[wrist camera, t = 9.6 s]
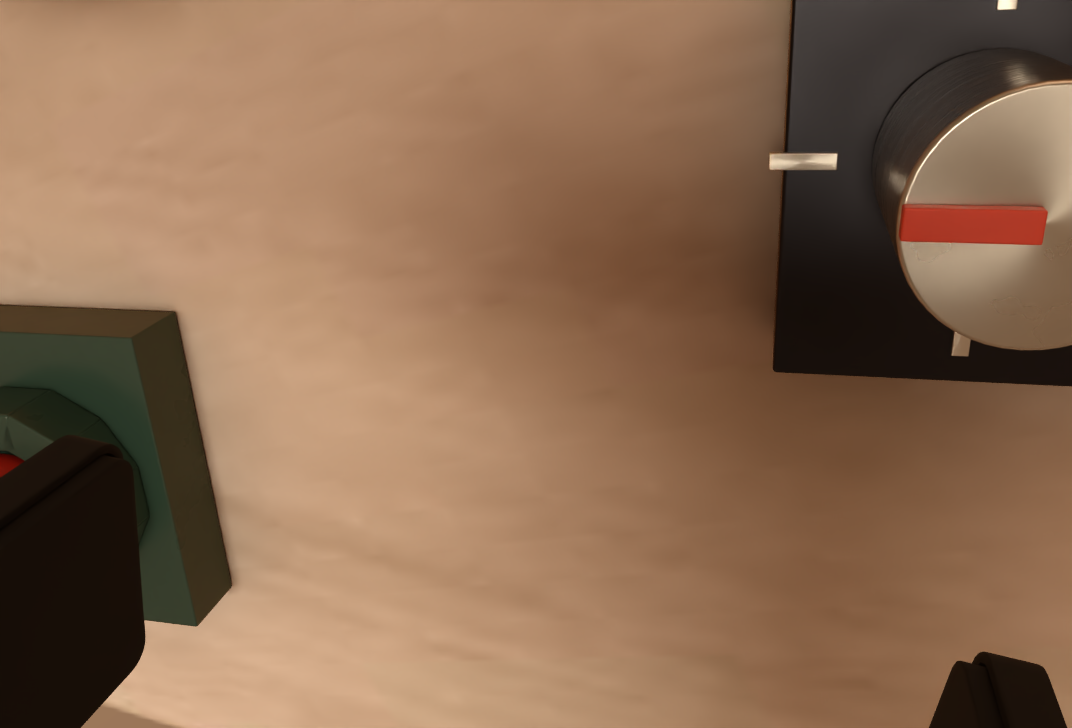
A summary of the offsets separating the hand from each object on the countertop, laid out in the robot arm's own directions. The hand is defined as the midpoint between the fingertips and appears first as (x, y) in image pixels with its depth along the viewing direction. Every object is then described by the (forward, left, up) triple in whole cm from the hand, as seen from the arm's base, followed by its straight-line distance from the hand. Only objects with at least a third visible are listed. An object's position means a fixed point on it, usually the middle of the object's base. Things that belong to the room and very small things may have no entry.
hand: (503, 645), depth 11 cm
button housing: (-7, +19, -16) cm, 25 cm away
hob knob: (+3, -7, -13) cm, 15 cm away
